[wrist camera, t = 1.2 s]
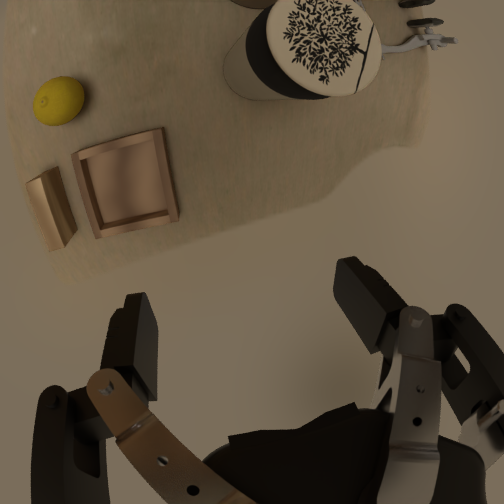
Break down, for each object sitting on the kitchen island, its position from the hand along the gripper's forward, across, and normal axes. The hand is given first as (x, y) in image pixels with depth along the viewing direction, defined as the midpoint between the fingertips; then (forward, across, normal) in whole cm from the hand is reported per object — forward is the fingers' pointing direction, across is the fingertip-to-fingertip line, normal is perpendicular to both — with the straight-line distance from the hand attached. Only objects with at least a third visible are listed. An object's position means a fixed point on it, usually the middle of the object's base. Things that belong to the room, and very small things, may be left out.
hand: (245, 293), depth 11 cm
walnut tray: (+24, +10, 0) cm, 26 cm away
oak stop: (+24, +20, +1) cm, 31 cm away
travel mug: (+24, -7, -11) cm, 27 cm away
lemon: (+24, +15, -12) cm, 31 cm away
